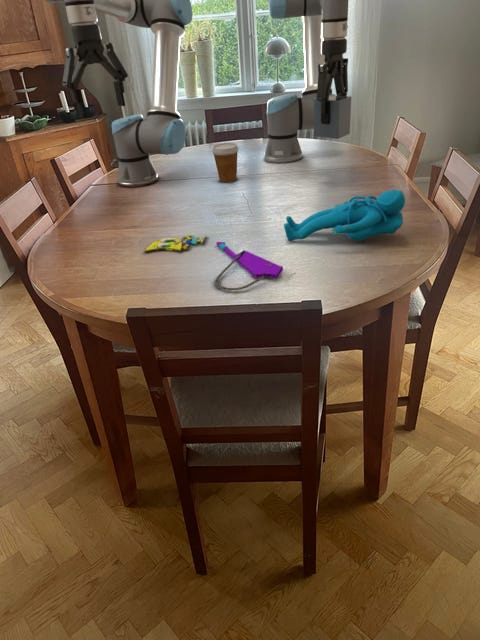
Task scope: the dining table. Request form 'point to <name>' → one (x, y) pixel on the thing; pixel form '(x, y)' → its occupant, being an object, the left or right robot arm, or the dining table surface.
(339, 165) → the dining table surface
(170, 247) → the toy
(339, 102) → the block
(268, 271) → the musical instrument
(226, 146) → the disposable coffee cup
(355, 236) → the toy
